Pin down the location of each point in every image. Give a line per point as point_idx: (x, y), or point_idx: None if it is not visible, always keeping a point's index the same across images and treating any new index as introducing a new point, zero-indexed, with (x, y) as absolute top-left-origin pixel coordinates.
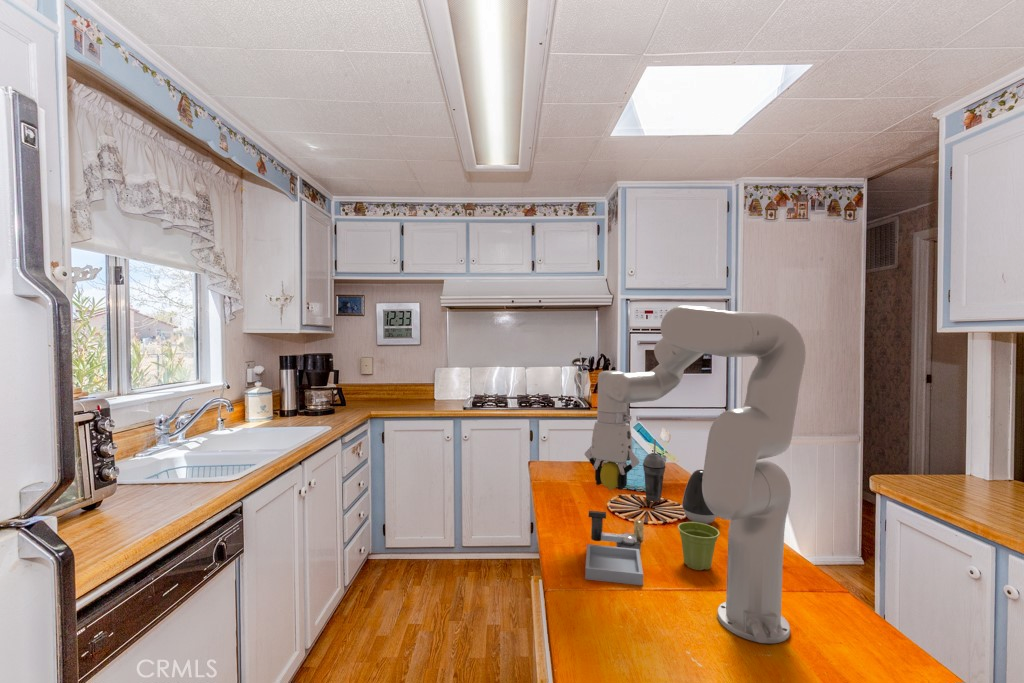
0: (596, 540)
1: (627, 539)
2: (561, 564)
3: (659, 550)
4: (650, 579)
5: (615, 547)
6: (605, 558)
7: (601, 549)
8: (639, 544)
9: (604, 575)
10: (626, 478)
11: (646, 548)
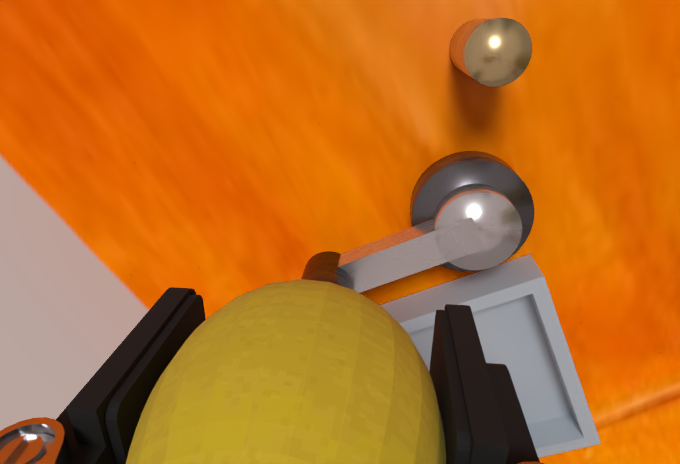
0: None
1: (483, 269)
2: None
3: (608, 110)
4: (603, 368)
5: None
6: (413, 339)
7: None
8: (527, 205)
9: None
10: (523, 430)
11: (539, 128)
